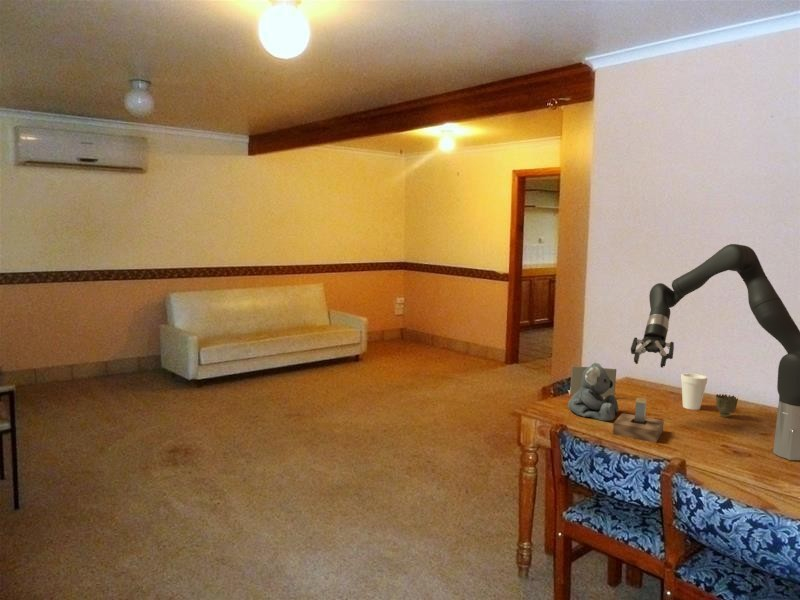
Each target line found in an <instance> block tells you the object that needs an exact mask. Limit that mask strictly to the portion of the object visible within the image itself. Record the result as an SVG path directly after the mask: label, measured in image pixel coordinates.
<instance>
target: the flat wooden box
mask: <svg viewBox="0 0 800 600" xmlns="http://www.w3.org/2000/svg"><path fill="white" fill-rule="evenodd" d="M634 420H635V414H629V413H624V412H622V413H621V414H620V415H619V416H618V417H617V418H616V420H615V421H613V427H612V435H615V436H620V437H625V438H626V437H627V438H631V439H636V440H641V441H645V442H651V443H657V442H658V441H659V439H660V437H661V435H662V434H663V431H664V423H665V420H663V419H658V418H652V417H646V416H645V423H644V425H643V424H638V423H634Z"/></svg>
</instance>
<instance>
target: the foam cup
mask: <svg viewBox="0 0 800 600" xmlns="http://www.w3.org/2000/svg"><path fill="white" fill-rule="evenodd" d="M680 375H681V376H680V382H681V395H682V396H681V397H682V398H681V399H682V407H683V408H685V409H687V410H695V411H698V410H700V409H701V407H702V406H701V405H702V402H703V398H704V393H705V389H706V385H707V383H708V377H707V376H706V375H704V374H700V373H699V374H698V373H693V372H686V373H685V372H684V373H681V374H680Z"/></svg>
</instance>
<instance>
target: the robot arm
mask: <svg viewBox="0 0 800 600" xmlns="http://www.w3.org/2000/svg"><path fill="white" fill-rule="evenodd" d="M727 271H730V272H731V271H732V272H737V274H738V275H739V276H740V277H741V279H742V281H743V283H744V284H745V286H746V288H747V289H746V290H747V299H748V305H749V308H750V311H751V313H752V314H753V316H754V317H755V319H756V321H757V323H758V324H759V325H760V327H761V328H763V330H765V332H767V333H768V334H769V335H770V336H771V337H772V338H775V340H777V341H778V343H780V345H781V346H782V347H783V348H784V350H785V351H786V354H785V355H783V356H782V357H781V359H780V360H779V363H778V369H777V385H776V386H777V387H776V388H777V389H776V390H777V393H778V405H777V412H776V413H777V414H776V415H777V416H776V423H775V424H776V425H775V432H774V434H775V435H774V440H773V441H774V444H773V450H772V451H773V454H774V455H776V456H778V457H780V458H783V459H787V460H789V461H800V329H799V327H798V325H797V324H796V322H795V321H794V319H793V317H792V316H791V314H790V313H789V311H788V309H787V308H786V306H785V304H784V302H783V301H782V299H781V297H780V296H779V294H778V293H777V291H776V290H775V288H774V287H773V284H772V283H771V281H770V279H769V278H768V276H767V274H766V272H765V271H764V269H763V266H762V264H761V262H760V260H759V257H758V255H757V254H756V252H755V250H753V248H751V246H748V245H742V244H738V243H730V244H727V245H725V246H723V247H722V248H721V249H719V250H718V251H716V252H715V254H713V255H711V256H710V257H709V258H708V259H706V260H705V261H704V262H703V263H701V264H699V265H698V266H697V267H695V268H693V269H691V270H689V271H688V272H686V273H684V274H682V275H680V276H679V277H677V278H675V279H674V280H673V281H672V283H671V288H670V287H669V286H667V285H666V284H664V283H662V282H659V283H655V284H654V285H653V286H652V287H651V289H650V291H649V294H648V295H649V298H648V299H649V306H650V312H649V314H648V315H649V316H648V319H647V321H646V326H645V330H644V335H643V338H642V339H638V337H634V338H633V341H632V344H631V347H630V354H631V355H634V357H633V362H634V364H635V365H638V364H639V361H640V355H642V354H645V353H646V352H647V353H654V354H659V355H660V356H661V358H660V359H661V360H660V366H659V367H660V368H664V367H665V366H666V363H667V360H668V359H669V360H673V359H674V352H675V350H674V349H675V343H674V341H670V342H666V340H667V336H668V332H669V327H670V326H669V325H670V323H669V322H670V316H671V308H673V307H675V306H676V305H677V304H678V303H680V301H682V299H684V297H686V296H687V295H688V294H691V293H693V292H695V291H697V290H699V289H700V288H701V287H703V286H704V285H705V284H706V283H707V282H708V281H709V280H710V279H711V278H712V277H714V276H716V275H718V274H721V273H723V272H727ZM640 344H641V345H640ZM639 345H640V346H639ZM638 346H639V347H638ZM666 347H667V349H668V350H669V351H668V353H667V352H666V350H665V348H666Z"/></svg>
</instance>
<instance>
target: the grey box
mask: <svg viewBox="0 0 800 600" xmlns="http://www.w3.org/2000/svg"><path fill="white" fill-rule="evenodd" d="M588 367H589V366H580V365H578V366H576V365H572V366H571V373H570V374H571V375H570V377H571V378H570V390H568V389H567V391H568V394H569V395H570V394H575V393H577V391H579V390H580V388H581V386H582V383H581V381H582V374H583V372H584V371H585V370H586V369H587V368H588ZM602 368H603V369H604V370H605V372H606V373H607V375H608V377H609V379H610V380H611V381H612V382H613V386H612V388H609V389H608V390H607V391H606V392H605V393H603V394H601V396H602V397H606V396H608V395H615V393H616V381H617V369H616V368H605V367H602ZM615 396H616V395H615Z"/></svg>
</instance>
